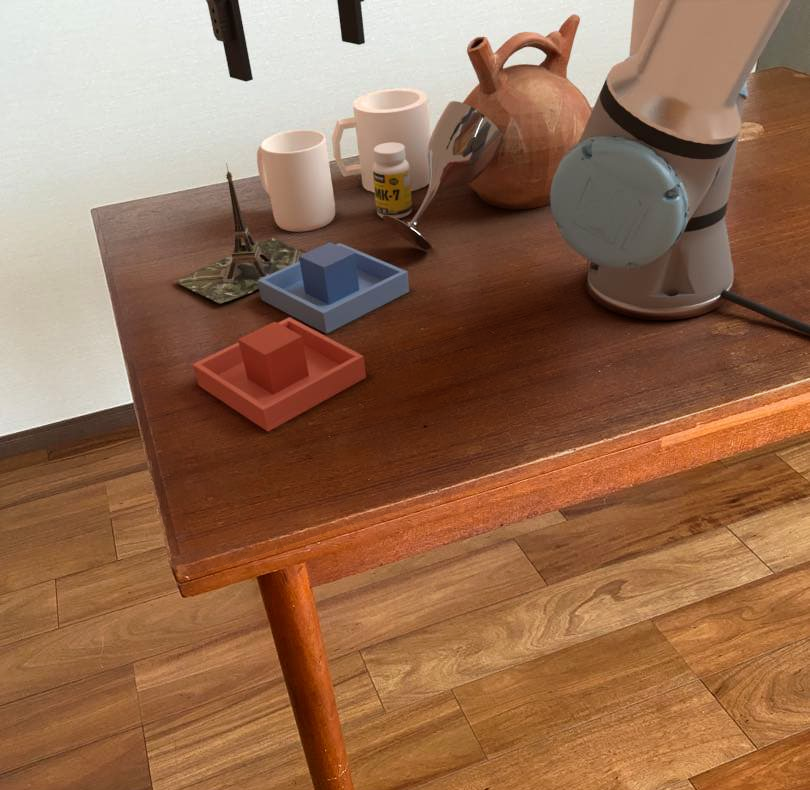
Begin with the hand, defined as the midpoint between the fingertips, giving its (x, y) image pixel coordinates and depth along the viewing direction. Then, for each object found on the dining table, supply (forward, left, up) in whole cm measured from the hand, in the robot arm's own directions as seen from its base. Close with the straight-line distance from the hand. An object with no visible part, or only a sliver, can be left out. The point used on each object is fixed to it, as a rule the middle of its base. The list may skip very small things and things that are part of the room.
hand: (299, 60), depth 85 cm
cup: (+22, -11, -25) cm, 35 cm away
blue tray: (0, 0, -25) cm, 25 cm away
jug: (+3, -35, -25) cm, 43 cm away
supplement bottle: (+12, -20, -25) cm, 34 cm away
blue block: (0, 0, -24) cm, 24 cm away
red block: (-10, +15, -24) cm, 30 cm away
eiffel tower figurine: (+13, +3, -25) cm, 28 cm away
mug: (+21, -27, -25) cm, 42 cm away
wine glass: (+1, -12, -22) cm, 25 cm away
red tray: (-10, +15, -25) cm, 31 cm away
